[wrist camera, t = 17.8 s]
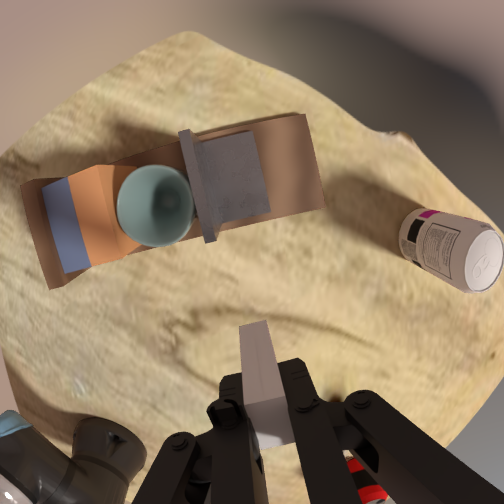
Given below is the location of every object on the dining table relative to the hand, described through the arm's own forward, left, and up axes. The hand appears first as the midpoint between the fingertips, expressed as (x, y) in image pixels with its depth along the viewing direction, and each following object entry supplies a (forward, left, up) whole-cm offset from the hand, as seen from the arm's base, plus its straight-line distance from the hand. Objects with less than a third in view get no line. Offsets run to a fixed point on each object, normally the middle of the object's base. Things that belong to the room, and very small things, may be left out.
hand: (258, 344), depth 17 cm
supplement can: (+25, -4, -24) cm, 35 cm away
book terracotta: (-12, +9, -23) cm, 27 cm away
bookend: (0, +9, -23) cm, 24 cm away
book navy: (-16, +9, -23) cm, 29 cm away
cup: (-7, +8, -23) cm, 25 cm away
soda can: (+12, -52, -24) cm, 59 cm away
